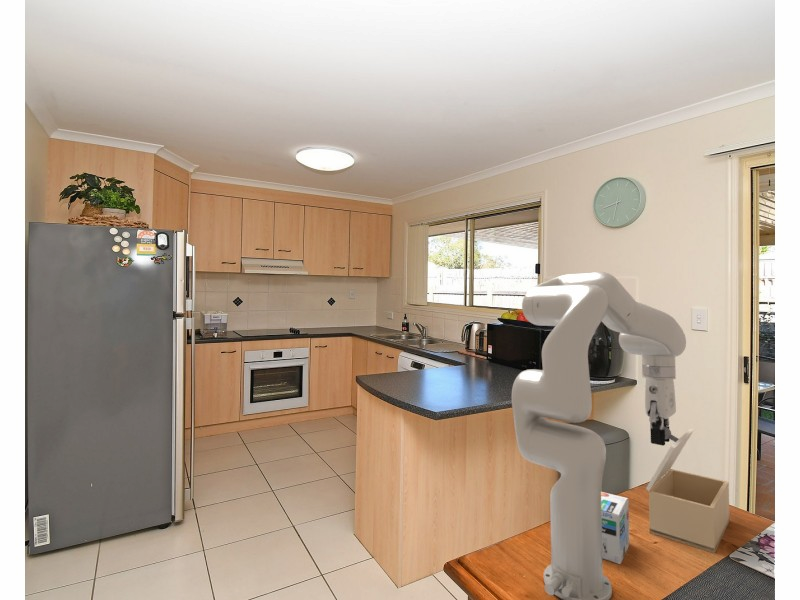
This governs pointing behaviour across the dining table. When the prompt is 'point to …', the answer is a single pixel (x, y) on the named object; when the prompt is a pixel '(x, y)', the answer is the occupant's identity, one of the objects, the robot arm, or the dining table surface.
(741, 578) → the dining table surface
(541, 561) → the dining table surface
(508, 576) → the dining table surface
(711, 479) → the beige box
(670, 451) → the flap
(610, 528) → the light bulb box
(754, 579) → the dining table surface
